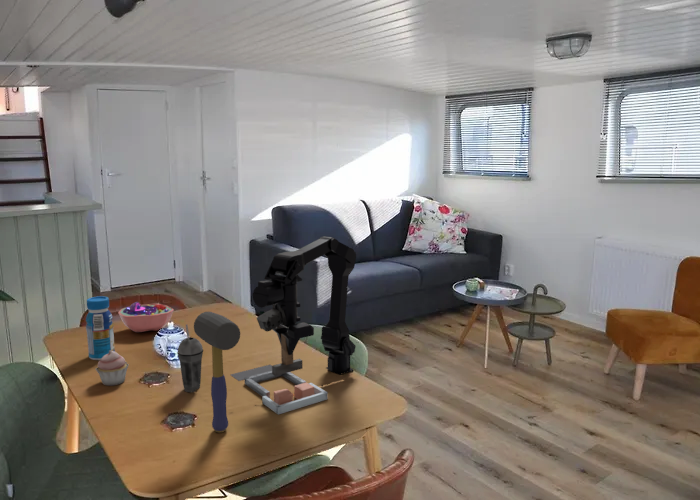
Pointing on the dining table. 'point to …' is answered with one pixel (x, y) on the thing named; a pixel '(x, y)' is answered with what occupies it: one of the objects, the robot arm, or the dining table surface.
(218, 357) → the rubber mallet
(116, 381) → the cupcake
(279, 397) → the dusty rose cube
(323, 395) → the tray
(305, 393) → the salmon pink cube
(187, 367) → the beverage cup
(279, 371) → the t-shaped scraper
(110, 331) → the beverage bottle
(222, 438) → the dining table surface
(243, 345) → the dining table surface
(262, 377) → the slot channel
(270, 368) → the mat
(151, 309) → the cell model
